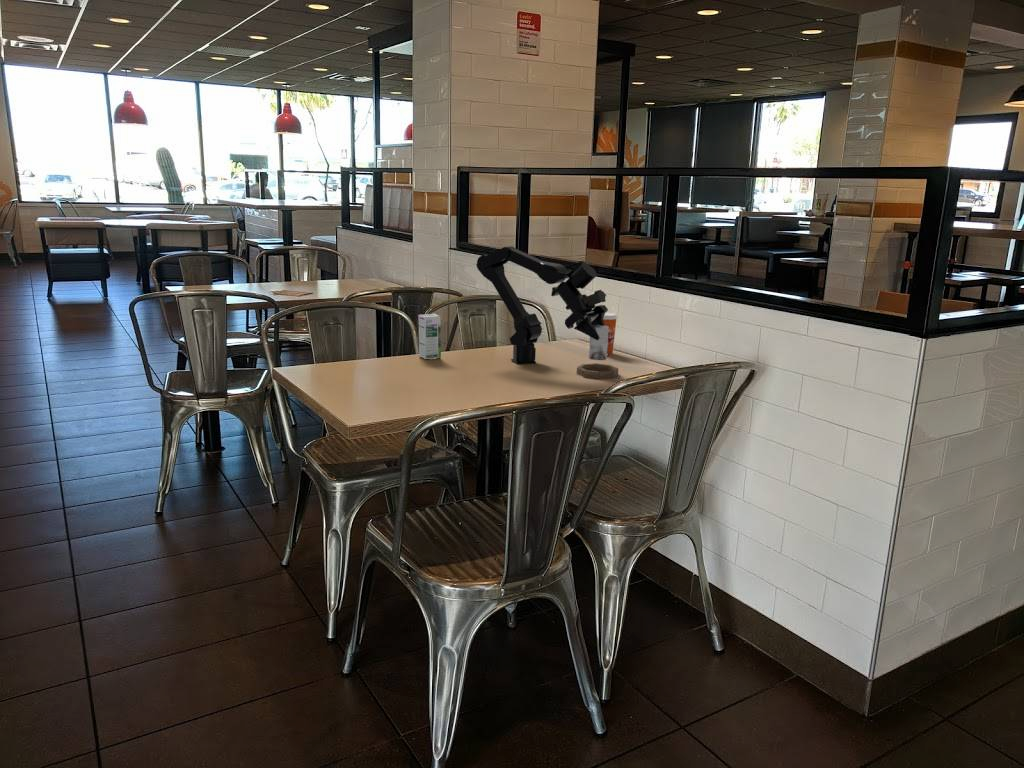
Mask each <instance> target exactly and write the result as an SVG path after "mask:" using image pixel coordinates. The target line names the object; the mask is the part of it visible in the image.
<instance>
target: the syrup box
mask: <svg viewBox="0 0 1024 768" xmlns="http://www.w3.org/2000/svg"><path fill="white" fill-rule="evenodd" d="M441 320H442V318H441V315H439V314H437V313H429V314H427V313H426V314H418V357H419V356H421V357H423V358H424V359H430V360H435V359H434V358H442V344H441V343H442V341H441V340H442V338H441V336H442V332H441V331H442V329H441V328H442V324H441V323H442V321H441ZM424 359H423V360H424Z"/></svg>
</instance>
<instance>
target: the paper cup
mask: <svg viewBox="0 0 1024 768" xmlns="http://www.w3.org/2000/svg"><path fill="white" fill-rule="evenodd" d="M617 316H618V315H617V314H616V313H613V312H606V313H605V315H604V318H603V321H604V324H605V326H608V327H609V330H608V345H607V354H611V355H613V353H614V344H615V335H616V334H615V333H616V324H617V319H618V317H617Z"/></svg>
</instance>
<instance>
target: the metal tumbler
mask: <svg viewBox="0 0 1024 768" xmlns="http://www.w3.org/2000/svg"><path fill="white" fill-rule="evenodd" d="M593 327H594V329H595V330H596V332H597V334H598V335H599V337H600V339H598V340H596V339H594V338H592V337H590V336H589V347H588V348H589V349H588V359H589V360H592V361H593V360H594V361H606V360H607V357H608V355H607V345H608V330H609V327H608V326H605V325H593Z"/></svg>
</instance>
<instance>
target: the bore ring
mask: <svg viewBox="0 0 1024 768" xmlns="http://www.w3.org/2000/svg"><path fill="white" fill-rule="evenodd" d="M576 375H578V376H580V375H581V376H580V377H582V376H583V378H586V379H587V378H589V379H595V380H603V379H614V378H616V377H617V376H618V375H619V367H616V366H614V365H611V364H605V363H596V362H595V363H593V362H592V363H581V364H580V365H578V366H577V367H576Z"/></svg>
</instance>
